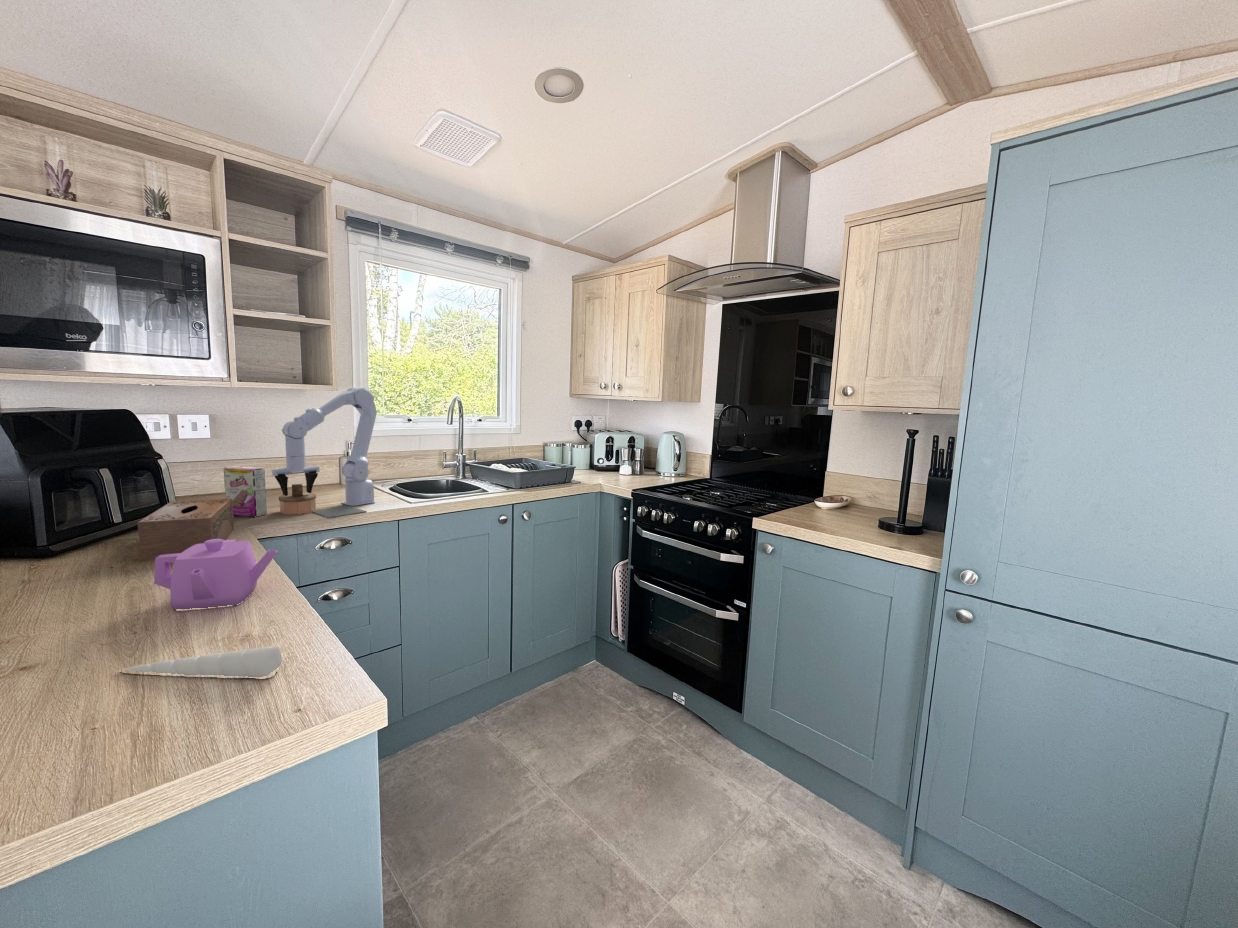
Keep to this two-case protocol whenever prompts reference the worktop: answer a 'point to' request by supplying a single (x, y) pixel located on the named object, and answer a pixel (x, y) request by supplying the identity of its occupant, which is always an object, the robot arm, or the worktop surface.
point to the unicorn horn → (221, 663)
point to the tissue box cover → (184, 526)
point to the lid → (297, 495)
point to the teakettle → (211, 573)
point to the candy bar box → (246, 490)
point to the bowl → (297, 507)
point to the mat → (339, 511)
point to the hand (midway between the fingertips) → (297, 493)
